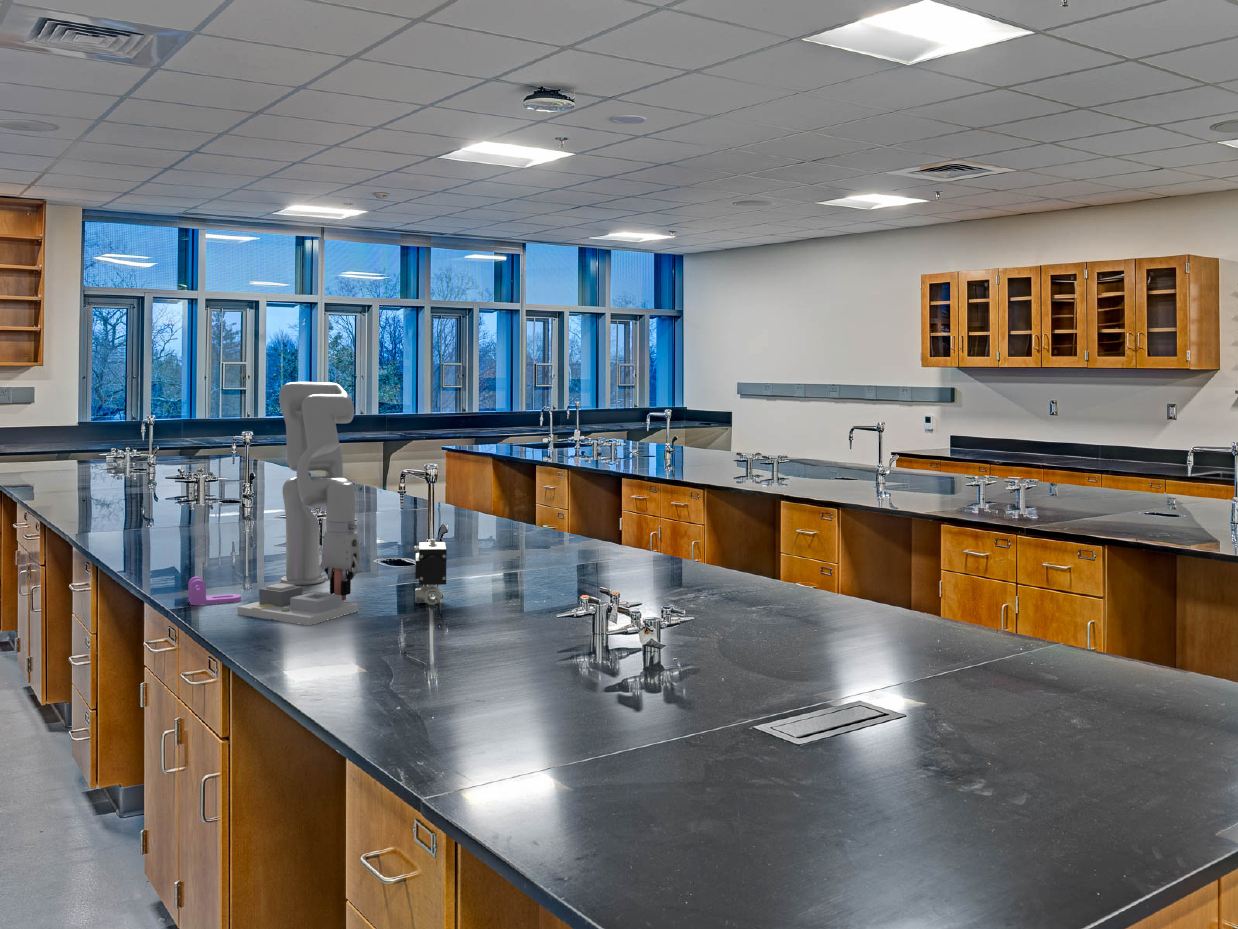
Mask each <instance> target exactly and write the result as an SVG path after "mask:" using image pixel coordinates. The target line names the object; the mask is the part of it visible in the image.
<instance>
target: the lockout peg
mask: <svg viewBox="0 0 1238 929" xmlns="http://www.w3.org/2000/svg"><path fill="white" fill-rule="evenodd" d="M333 571H334V594H336V595H341V581H343V576H342V570H341V569H334V570H333ZM346 600H347V595H344V596H342V602H345V601H346Z"/></svg>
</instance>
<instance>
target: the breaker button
mask: <svg viewBox="0 0 1238 929" xmlns="http://www.w3.org/2000/svg"><path fill="white" fill-rule="evenodd" d="M295 586H296V585H292V584H284V583H282V582H280V583H275V584H270V585H266V587H267V589H272V590H279V591H283V590H287V589H291V588H295Z"/></svg>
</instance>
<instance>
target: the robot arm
mask: <svg viewBox="0 0 1238 929" xmlns="http://www.w3.org/2000/svg"><path fill="white" fill-rule="evenodd" d="M278 395H279V396H278V397H279V398H278V400H279V408H280V411H281V413H282V417H283V419H284V423H285V430H286V432H285V434H286V435H285V436H286V458H287V465H288V468H289V470H290V471H292V472H296V476H294V477H291V478H289V479H287V480H286V481H285V482H284V483H283V486H282V497H283V503H284V512H285V547H286V548H285V555H286V557H285V559H286V560H285V563H286V564H285V570H286V573H285V575H284V576H282V577H281V578H280V583H284V584H292V585H295V586H309V585H315V584H321V583H323V582H325V578H326V577H325V576H324V575H322V573H324V572H325V574H326V576H327V579H328V580H329V594H334V569H341V570H342V576H343V581H341V595H342V596H344V595H346V596H347V595H351V590H352V588H351V587H352V585H351V583H352V582H351V581H352V580H353V579H354V577H355V576H356V575H358V574H360V573H362V570H361V560H362V559H361V546H360V544H361V543H360V539H359V535H358V532H356V530H357V529H358V525H357V524H356V486H355V483H353V482H351V481H350V480H348V479H347V478H345V477H344V474H343V472H344V471H343V470H344V466H343V464H344V462H343V453H342V448H341V446H340V440H339V434H338V429H337V425H336V424H350V423H351V422H352V421H353V419H354V416H355V407H354V403H353V401H352V398H351V396H350V395H349V393H348V392H347V391H346V390H345V389H344V388H343V387H342V386H341V385H340V384H338V383H336V382H322V381H321V382H320V381H318V382H317V381H315V382H314V381H294V382H293V381H292V382H287V383H285V384H284V385H282V386H281V388H280V390H279V394H278ZM316 472H317V473H319V472H323V473H324V474H325V475H321V476H320V475H319V476H315V475H314V476H313V475H311V476H310V473H316ZM323 508H324V509H326V511H325V513H326V515H325V518H326V519H325V520H326V522H325V529H326V530H325V531H324V534H323V537H322V539H323V541H322V546H321V548H322V549H321V562H320V524H319V520H318V518H317V517H316V515H315V514H314V513H313V512H312V510H311V509H323Z"/></svg>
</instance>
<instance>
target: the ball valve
mask: <svg viewBox="0 0 1238 929" xmlns="http://www.w3.org/2000/svg"><path fill="white" fill-rule="evenodd" d="M435 540H436V539H434V538H430V541H419V543H418V545H414V546H413V547H414V548H413V549H414V550H413V551H414V552H415V572H414V573H415V580H418V585H419V586H420V587H419V588H414V601H415V603H420V602H425V603H428V604H429V605H428V604H427V605H428V606H430V605H434V606H436V605H435V604H437V603H438V604H439V603H440V602H441V600H442V599H441V598H442V596H441V595H442V592H441V588H440V587H439V586H441V585H442V586H443V585H445V586H446V585H447V556H448V555H447V544H446V541H435ZM438 604H437V605H438Z"/></svg>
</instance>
